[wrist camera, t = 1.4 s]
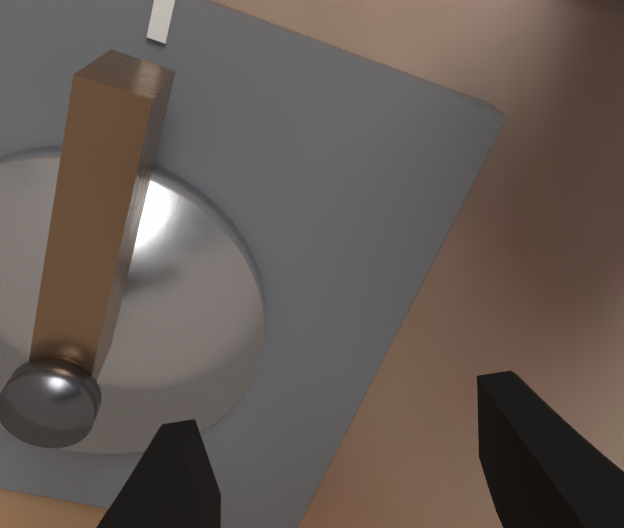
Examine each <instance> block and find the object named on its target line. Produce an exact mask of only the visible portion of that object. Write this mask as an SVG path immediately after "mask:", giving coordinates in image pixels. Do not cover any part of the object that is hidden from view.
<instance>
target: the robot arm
mask: <svg viewBox="0 0 624 528" xmlns="http://www.w3.org/2000/svg"><path fill="white" fill-rule="evenodd" d="M477 388H478V433H479V458H480V461H481V465H482V468H483V471H484V474H485V478H486V481H487V484H488V487H489V490H490V493H491V496H492V500H493V503H494V506H495V509H496V512H497V514H498V516H499V519H500V521H501V523H502V526H503V528H624V472H623V471H622V470H621V469H620V468H618V467H617V466H616V465H615V464H614V463H612V462H611V461H610V460H609V459H608V458H607V457H605V456H604V455H603V454H602V453H601V452H600V451H598V450H597V449H596V448H595V447H594V446H593V445H592V444H590V443H589V442H588V441H587V440H586V439H585V438H583V437H582V436H581V435H580V434H579V433H578V432H577V431H576V430H574V429H573V428H572V427H571V426H570V425H569V424H568V423H567V422H566V421H565V420H563V419H562V418H561V417H560V416H559V415H558V414H557V413H556V412H555V411H554V410H553V409H552V408H551V407H550V406H548V405H547V404H546V403H545V402H544V401H543V400H542V399H541V398H540V397H539V396H538V395H537V394H536V393H535V392H534V391H533V390H532V389H531V388H530V387H529V386H528V385H527V384H526V383H525V382H524V381H523V380H522V379H521V378H520V377H519V376H518V375H517V374H515V373H514V372H512V371H506V372H499V373H493V374H486V375H480V376H477ZM96 528H221V493H220V490H219V487H218V484H217V481H216V478H215V476H214V473H213V470H212V467H211V464H210V461H209V458H208V455H207V452H206V449H205V446H204V443H203V440H202V438H201V435H200V432H199V429H198V426H197V423H196V420H195V419H192V420H186V421H179V422H173V423H166V424H162V425H161V427H160V428H159V429H158V431H157V432H156V434H155V436H154V437H153V439H152V441H151V442H150V444H149V446H148V447H147V449H146V450H145V452H144V454H143V455H142V457H141V459H140V460H139V462H138V464H137V465H136V467H135V468H134V470H133V472H132V473H131V475H130V477H129V478H128V480H127V481H126V483H125V484H124V486H123V488H122V489H121V491H120V492H119V494H118V495H117V497H116V499H115V500H114V502H113V503H112V505H111V506H110V508H109V509H108V511H107V512H106V514H105V515H104V517H103V518H102V520H101V521H100V523H99V524H98V526H97V527H96Z"/></svg>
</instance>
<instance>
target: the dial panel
mask: <svg viewBox="0 0 624 528" xmlns="http://www.w3.org/2000/svg"><path fill="white" fill-rule="evenodd" d="M111 49H112V50H115V51H118V52H121V53H124V54H127V55H130V56H133V57H136V58H139V59H142V60H145V61H148V62H151V63H153V64H156V65H159V66H162V67H165V68H168V69H171V70H174V71H176V72H175V77H174V81H173V85H172V89H171V94H170V98H169V102H168V106H167V111H166V115H165V119H164V123H163V128H162V132H161V136H160V140H159V145H158V149H157V153H156V157H155V162H154V164H156V165H158V166H160V167H162V168H164V169H166V170H168V171H170V172H172V173H174V174H176V175H178V176H179V177H181V178H182V179H184V180H185V181H187V182H188V183H190V184H191V185H193V186H194V187H196V188H197V189H199V190H200V191H201V192H202V193H204V194H205V195H206V196H207V197H208V198H209V199H211V200H212V201H213V202H214V203H215V204H216V205H218V207H219V208H220V209H221V210H222V211H223V212H224V213H225V214H226V215H227V216H228V218H229V219H230V220H231V221H232V222H233V223H234V225H235V226H236V228H237V229H238V230H239V232H240V233H241V235H242V236H243V238H244V239H245V241H246V243H247V244H248V246H249V248H250V250H251V252H252V254H253V256H254V258H255V261H256V264H257V267H258V269H259V272H260V275H261V279H262V284H263V290H264V295H265V330H264V341H263V349H262V354H261V358H260V361H259V364H258V368H257V370H256V372H255V375H254V377H253V379H252V381H251V383H250V385H249V386H248V388H247V389H246V391H245V392H244V394H243V395H242V397H241V398H240V399H239V401H238V402H237V403H236V404H235V405H234V406H233V407H232V408H231V409H230V410H229V411H228V412H227V413H226V414H225V415H224V416H222V417H221V418H220V419H219V420H217V421H216V422H215V423H214V424H212V425H211V426H209V427H207V428H206V429H204V430H202V431H201V432H200V435H201V438H202V440H203V443H204V446H205V449H206V452H207V455H208V458H209V461H210V464H211V467H212V470H213V473H214V476H215V478H216V481H217V484H218V487H219V490H220V493H221V528H297V527H298V525H299V523H300V521H301V519H302V517H303V515H304V513H305V511H306V509H307V507H308V505H309V503H310V501H311V500H312V498H313V496H314V494H315V492H316V490H317V488H318V486H319V484H320V482H321V480H322V478H323V476H324V474H325V472H326V470H327V468H328V466H329V464H330V462H331V460H332V458H333V457H334V455H335V453H336V451H337V449H338V447H339V445H340V443H341V441H342V439H343V437H344V435H345V433H346V431H347V429H348V427H349V425H350V423H351V421H352V419H353V417H354V415H355V414H356V412H357V410H358V408H359V406H360V404H361V402H362V400H363V398H364V396H365V394H366V392H367V390H368V388H369V386H370V384H371V382H372V380H373V378H374V376H375V374H376V373H377V371H378V369H379V367H380V365H381V363H382V361H383V359H384V357H385V355H386V353H387V351H388V349H389V347H390V345H391V343H392V341H393V339H394V337H395V335H396V333H397V331H398V330H399V328H400V326H401V324H402V322H403V320H404V318H405V316H406V314H407V312H408V310H409V308H410V306H411V304H412V302H413V300H414V298H415V296H416V294H417V292H418V290H419V288H420V287H421V285H422V283H423V281H424V279H425V277H426V275H427V273H428V271H429V269H430V267H431V265H432V263H433V261H434V259H435V257H436V255H437V253H438V251H439V249H440V247H441V246H442V244H443V242H444V240H445V238H446V236H447V234H448V232H449V230H450V228H451V226H452V224H453V222H454V220H455V218H456V216H457V214H458V212H459V210H460V208H461V206H462V204H463V203H464V201H465V199H466V197H467V195H468V193H469V191H470V189H471V187H472V185H473V183H474V181H475V179H476V177H477V175H478V173H479V171H480V169H481V167H482V165H483V163H484V161H485V160H486V158H487V156H488V154H489V152H490V150H491V148H492V146H493V144H494V142H495V140H496V138H497V136H498V134H499V132H500V130H501V128H502V126H503V124H504V122H505V120H506V119H507V117H506V116H505V115H503V114H502V113H501V112H500V111H498V110H497V109H496V108H495V107H493V106H492V105H491V104H488V103H485V102H483V101H480V100H477V99H475V98H472V97H469V96H466V95H464V94H461V93H458V92H456V91H453V90H450V89H447V88H445V87H442V86H439V85H437V84H434V83H431V82H429V81H426V80H423V79H420V78H418V77H415V76H412V75H410V74H407V73H404V72H401V71H399V70H396V69H393V68H391V67H388V66H385V65H382V64H380V63H377V62H374V61H372V60H369V59H366V58H364V57H361V56H358V55H355V54H353V53H350V52H347V51H345V50H342V49H339V48H336V47H334V46H331V45H328V44H326V43H323V42H320V41H317V40H315V39H312V38H309V37H307V36H304V35H301V34H299V33H296V32H293V31H290V30H288V29H285V28H282V27H280V26H277V25H274V24H271V23H269V22H266V21H263V20H261V19H258V18H255V17H252V16H250V15H247V14H244V13H242V12H239V11H236V10H234V9H231V8H228V7H225V6H223V5H220V4H217V3H215V2H212V1H209V0H0V158H1V157H3V156H5V155H9V154H12V153H16V152H20V151H23V150H27V149H32V148H40V147H48V146H62V145H63V138H64V132H65V126H66V119H67V113H68V106H69V100H70V94H71V87H72V81H73V74H75V73H76V72H78V71H79V70H81V69H82V68H84V67H85V66H87V65H88V64H90V63H91V62H93V61H94V60H96V59H97V58H99V57H100V56H102V55H103V54H105V53H106V52H108V51H109V50H111ZM144 452H145V451H142V452H134V453H125V454H95V453H82V452H76V451H69V450H63V449H59V448H43V447H37V446H33V445H30V444H28V443H25V442H23V441H21V440H19V439H17V438H16V437H14V436H13V435H12V434H10V433H9V432H8V431H6V430H4V429H2V428H0V488H1V489H6V490H11V491H17V492H22V493H28V494H33V495H38V496H44V497H49V498H55V499H60V500H65V501H71V502H76V503H82V504H87V505H92V506H98V507H103V508H110V506H111V505H112V503H113V502H114V500H115V499H116V497H117V495H118V494H119V492H120V491H121V489H122V488H123V486H124V484H125V483H126V481H127V480H128V478H129V477H130V475H131V473H132V472H133V470H134V468H135V467H136V465H137V464H138V462H139V460H140V459H141V457H142V455H143V454H144Z"/></svg>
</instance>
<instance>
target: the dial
mask: <svg viewBox="0 0 624 528" xmlns="http://www.w3.org/2000/svg"><path fill="white" fill-rule="evenodd" d="M175 72H176V71H174V70H171V69H168V68H165V67H162V66H159V65H156V64H153V63H151V62H148V61H145V60H142V59H139V58H136V57H133V56H130V55H127V54H124V53H121V52H118V51H115V50H112V49H111V50H109V51H108V52H106V53H105V54H103V55H102V56H100V57H99V58H97V59H96V60H94V61H93V62H91V63H90V64H88V65H87V66H85V67H84V68H82V69H81V70H79V71H78V72H76V73H75V74H73V81H72V87H71V94H70V100H69V106H68V113H67V119H66V126H65V132H64V138H63V145H62V146H48V147H40V148H32V149H27V150H23V151H20V152H16V153H12V154H9V155H5V156H3V157H1V158H0V428H2V429H4V430H6V431H8V432H9V433H10V434H12V435H13V436H14V437H16V438H17V439H19V440H21V441H23V442H25V443H28V444H30V445H33V446H37V447H43V448H59V449H63V450H69V451H76V452H82V453H95V454H125V453H134V452H142V451H145V450H146V449H147V447H148V446H149V444H150V442H151V441H152V439H153V437H154V436H155V434H156V432H157V431H158V429H159V428H160V427H161V425H162V424H166V423H173V422H179V421H186V420H192V419H195V420H196V423H197V426H198V429H199V432H201V431H202V430H204V429H206V428H207V427H209V426H211V425H212V424H214V423H215V422H216V421H217V420H219V419H220V418H221V417H222V416H224V415H225V414H226V413H227V412H228V411H229V410H230V409H231V408H232V407H233V406H234V405H235V404H236V403H237V402H238V401H239V399H240V398H241V397H242V395H243V394H244V392H245V391H246V389H247V388H248V386H249V385H250V383H251V381H252V379H253V377H254V375H255V372H256V370H257V368H258V364H259V361H260V358H261V354H262V349H263V341H264V330H265V295H264V290H263V284H262V279H261V275H260V272H259V269H258V267H257V264H256V261H255V258H254V256H253V254H252V252H251V250H250V248H249V246H248V244H247V243H246V241H245V239H244V238H243V236H242V235H241V233H240V232H239V230H238V229H237V228H236V226H235V225H234V223H233V222H232V221H231V220H230V219H229V218H228V216H227V215H226V214H225V213H224V212H223V211H222V210H221V209H220V208H219V207H218V205H216V204H215V203H214V202H213V201H212V200H211V199H209V198H208V197H207V196H206V195H205V194H204V193H202V192H201V191H200V190H199V189H197V188H196V187H194V186H193V185H191V184H190V183H188V182H187V181H185V180H184V179H182V178H181V177H179V176H178V175H176V174H174V173H172V172H170V171H168V170H166V169H164V168H162V167H160V166H158V165H156V164H154V162H155V157H156V153H157V149H158V145H159V140H160V136H161V132H162V128H163V123H164V119H165V115H166V111H167V106H168V102H169V98H170V94H171V89H172V85H173V81H174V77H175Z"/></svg>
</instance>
